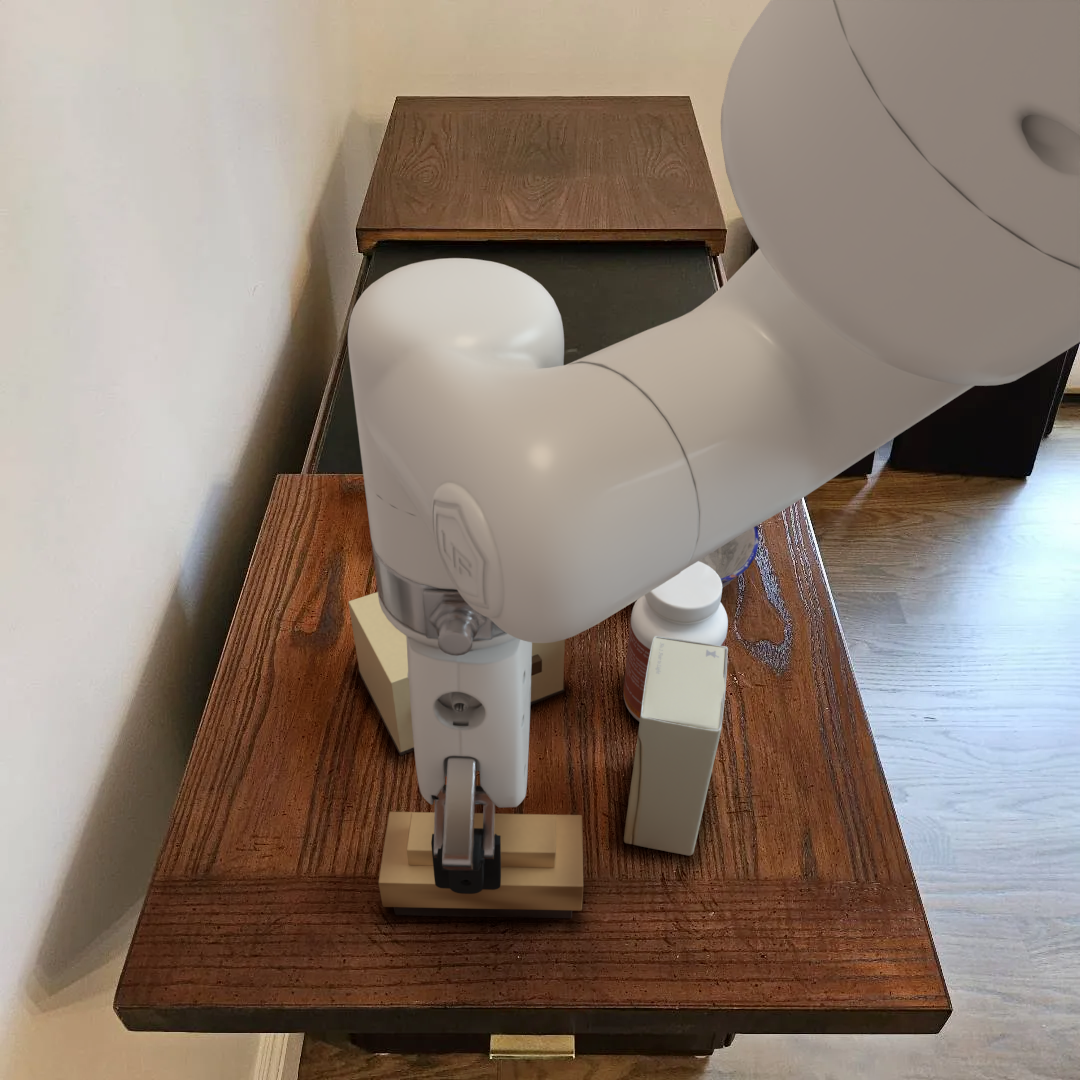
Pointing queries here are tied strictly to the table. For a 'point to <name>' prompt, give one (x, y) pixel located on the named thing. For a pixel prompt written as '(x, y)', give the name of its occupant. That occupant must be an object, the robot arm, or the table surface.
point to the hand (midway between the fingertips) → (474, 799)
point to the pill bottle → (673, 622)
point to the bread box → (389, 668)
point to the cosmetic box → (676, 743)
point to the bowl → (734, 556)
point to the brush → (526, 868)
